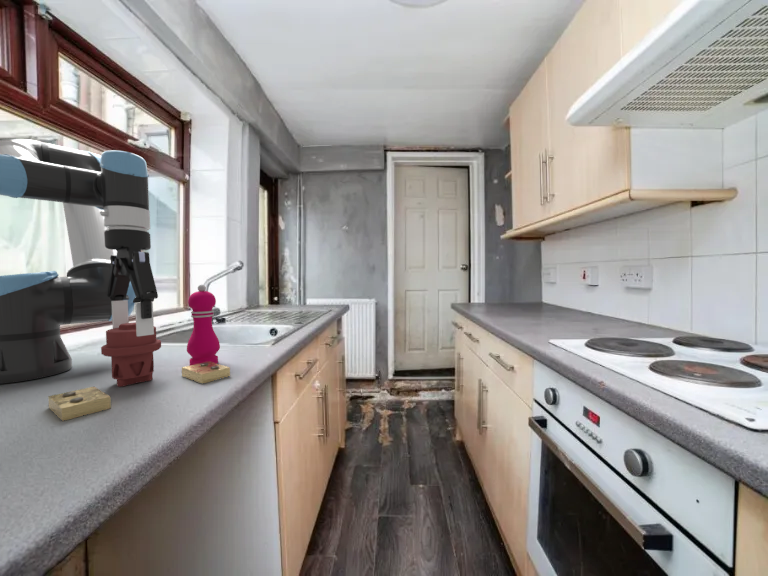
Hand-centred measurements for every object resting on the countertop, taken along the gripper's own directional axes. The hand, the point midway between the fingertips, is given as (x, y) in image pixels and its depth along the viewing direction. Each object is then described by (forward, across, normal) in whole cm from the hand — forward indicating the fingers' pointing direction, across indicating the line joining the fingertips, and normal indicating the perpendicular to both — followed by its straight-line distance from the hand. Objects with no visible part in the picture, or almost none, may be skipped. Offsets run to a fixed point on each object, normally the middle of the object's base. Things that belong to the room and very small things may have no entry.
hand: (132, 332), depth 69 cm
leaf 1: (+11, +8, -10) cm, 17 cm away
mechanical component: (+11, -1, 0) cm, 11 cm away
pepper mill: (+11, -2, +15) cm, 18 cm away
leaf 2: (+11, +8, +10) cm, 17 cm away
